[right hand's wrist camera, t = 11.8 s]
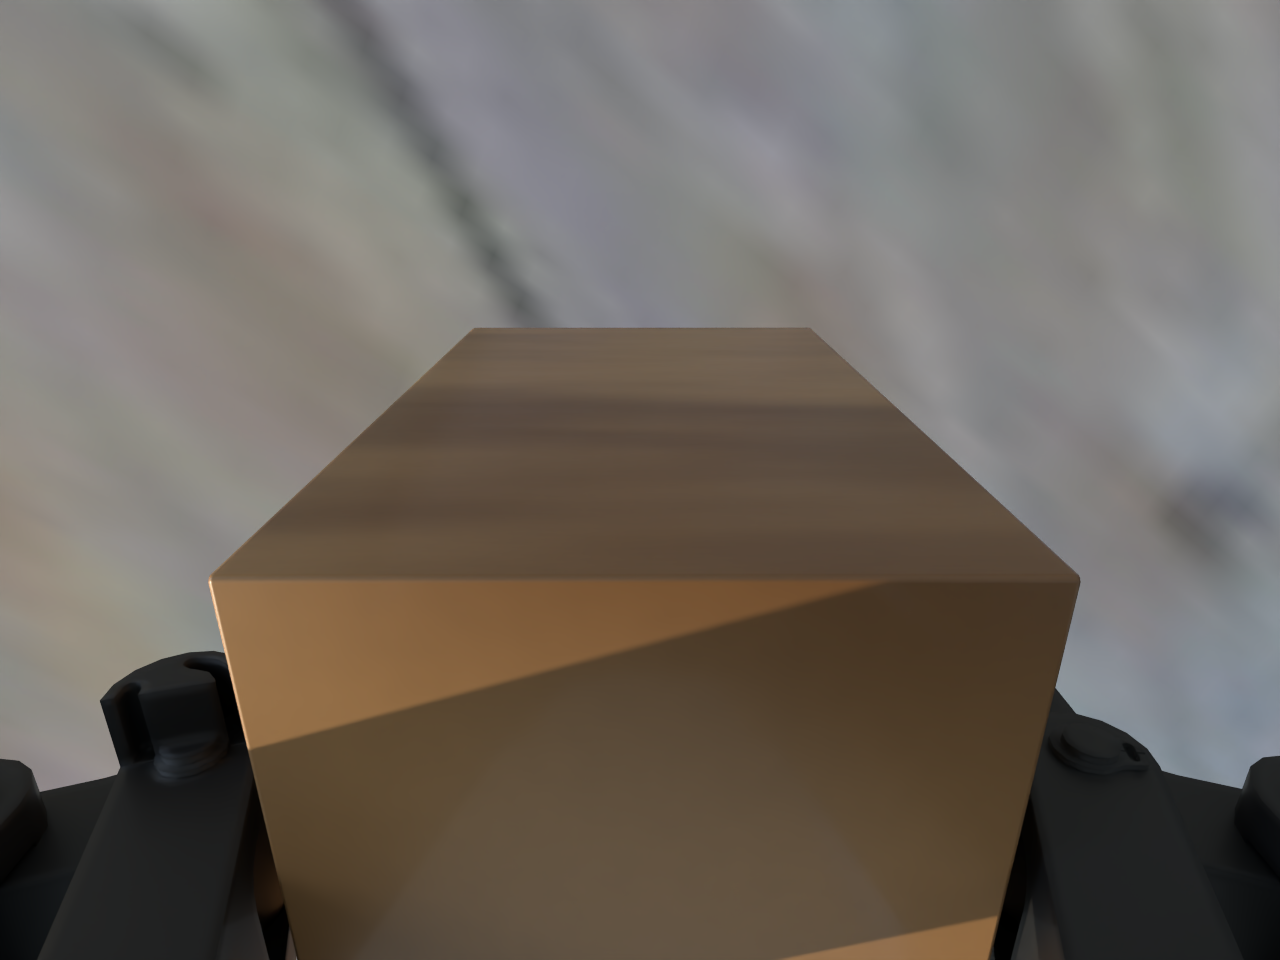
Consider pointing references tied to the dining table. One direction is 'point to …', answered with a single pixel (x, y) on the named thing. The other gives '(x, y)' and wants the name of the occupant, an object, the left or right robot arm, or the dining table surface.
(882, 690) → the box
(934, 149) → the dining table surface
